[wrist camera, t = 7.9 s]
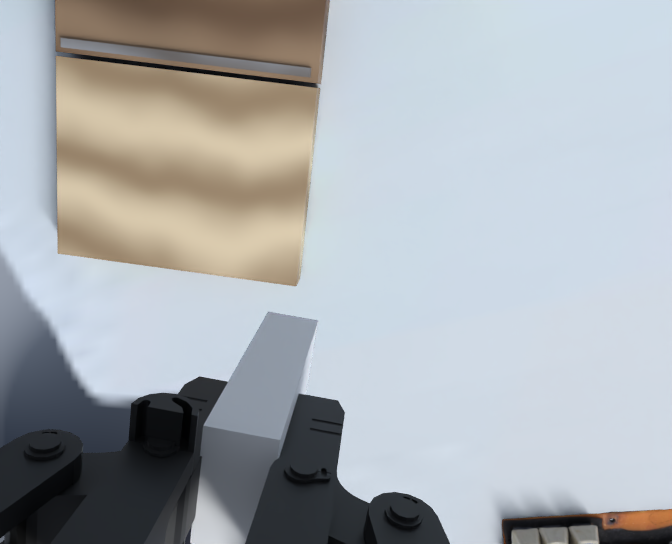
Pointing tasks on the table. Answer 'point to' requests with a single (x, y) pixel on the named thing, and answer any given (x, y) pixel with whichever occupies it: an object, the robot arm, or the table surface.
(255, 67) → the walnut board
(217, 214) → the oak plank
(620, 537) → the mechanical keyboard
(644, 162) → the table surface
